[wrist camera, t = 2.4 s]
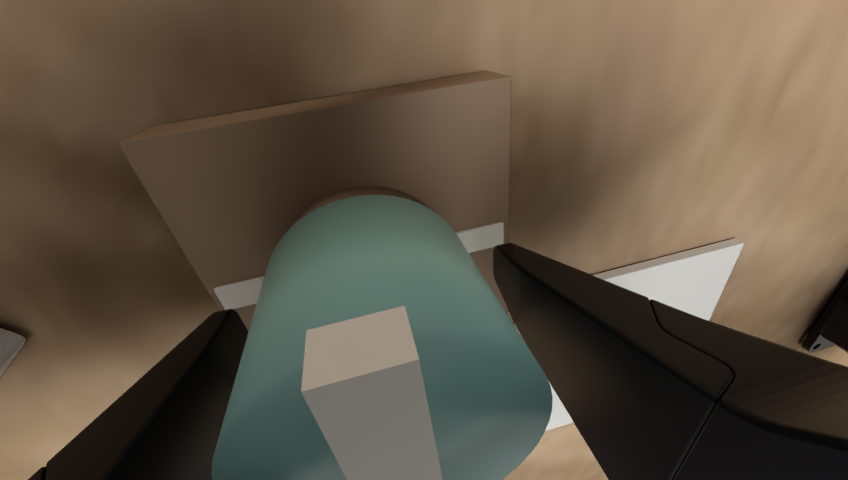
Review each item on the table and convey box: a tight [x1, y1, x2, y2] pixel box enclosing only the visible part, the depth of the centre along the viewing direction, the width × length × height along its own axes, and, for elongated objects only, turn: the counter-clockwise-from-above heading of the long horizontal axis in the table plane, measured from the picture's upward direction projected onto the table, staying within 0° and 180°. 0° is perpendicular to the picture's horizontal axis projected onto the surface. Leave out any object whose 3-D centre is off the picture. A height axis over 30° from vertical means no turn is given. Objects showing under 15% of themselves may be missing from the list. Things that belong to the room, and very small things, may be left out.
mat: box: [514, 238, 744, 431], centre depth 16 cm, size 10×10×1 cm
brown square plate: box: [118, 71, 511, 331], centre depth 9 cm, size 8×8×2 cm
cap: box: [211, 195, 553, 480], centre depth 6 cm, size 6×5×5 cm
